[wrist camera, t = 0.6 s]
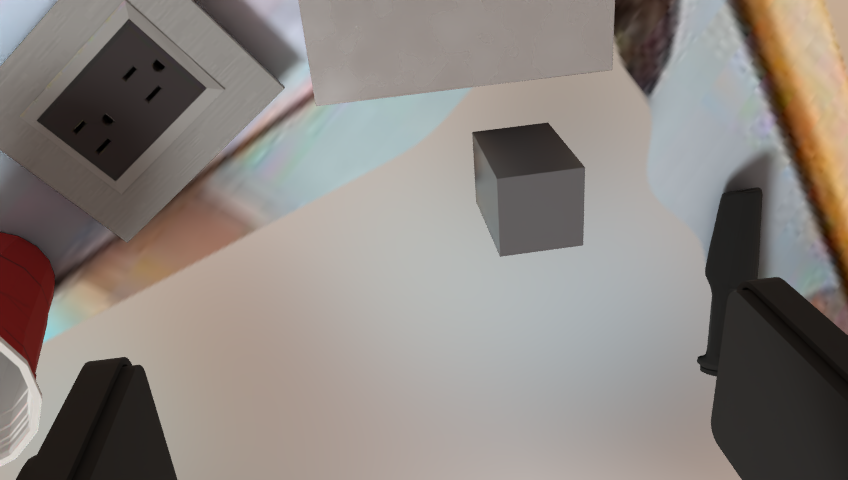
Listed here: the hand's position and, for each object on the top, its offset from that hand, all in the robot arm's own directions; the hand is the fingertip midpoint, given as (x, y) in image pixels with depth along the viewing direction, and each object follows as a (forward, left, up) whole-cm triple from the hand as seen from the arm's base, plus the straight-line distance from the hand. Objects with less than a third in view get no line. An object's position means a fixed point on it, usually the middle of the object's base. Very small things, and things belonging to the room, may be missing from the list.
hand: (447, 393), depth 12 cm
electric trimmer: (+21, +23, -32) cm, 44 cm away
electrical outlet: (+3, -13, -32) cm, 35 cm away
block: (+10, +8, -31) cm, 34 cm away
